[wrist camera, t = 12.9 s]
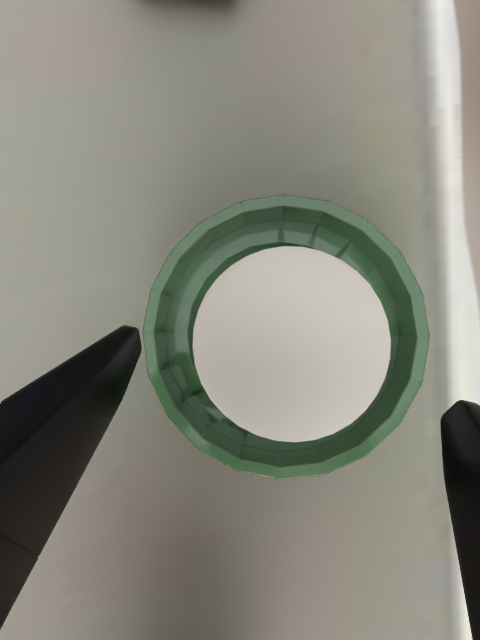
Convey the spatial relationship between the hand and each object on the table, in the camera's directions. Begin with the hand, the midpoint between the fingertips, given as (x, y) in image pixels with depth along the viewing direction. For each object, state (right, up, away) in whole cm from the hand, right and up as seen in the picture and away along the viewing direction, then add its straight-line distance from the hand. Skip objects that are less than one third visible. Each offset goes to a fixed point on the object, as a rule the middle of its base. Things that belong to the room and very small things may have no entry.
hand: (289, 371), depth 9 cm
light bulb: (+1, 0, +10) cm, 10 cm away
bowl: (+1, +1, +10) cm, 11 cm away
